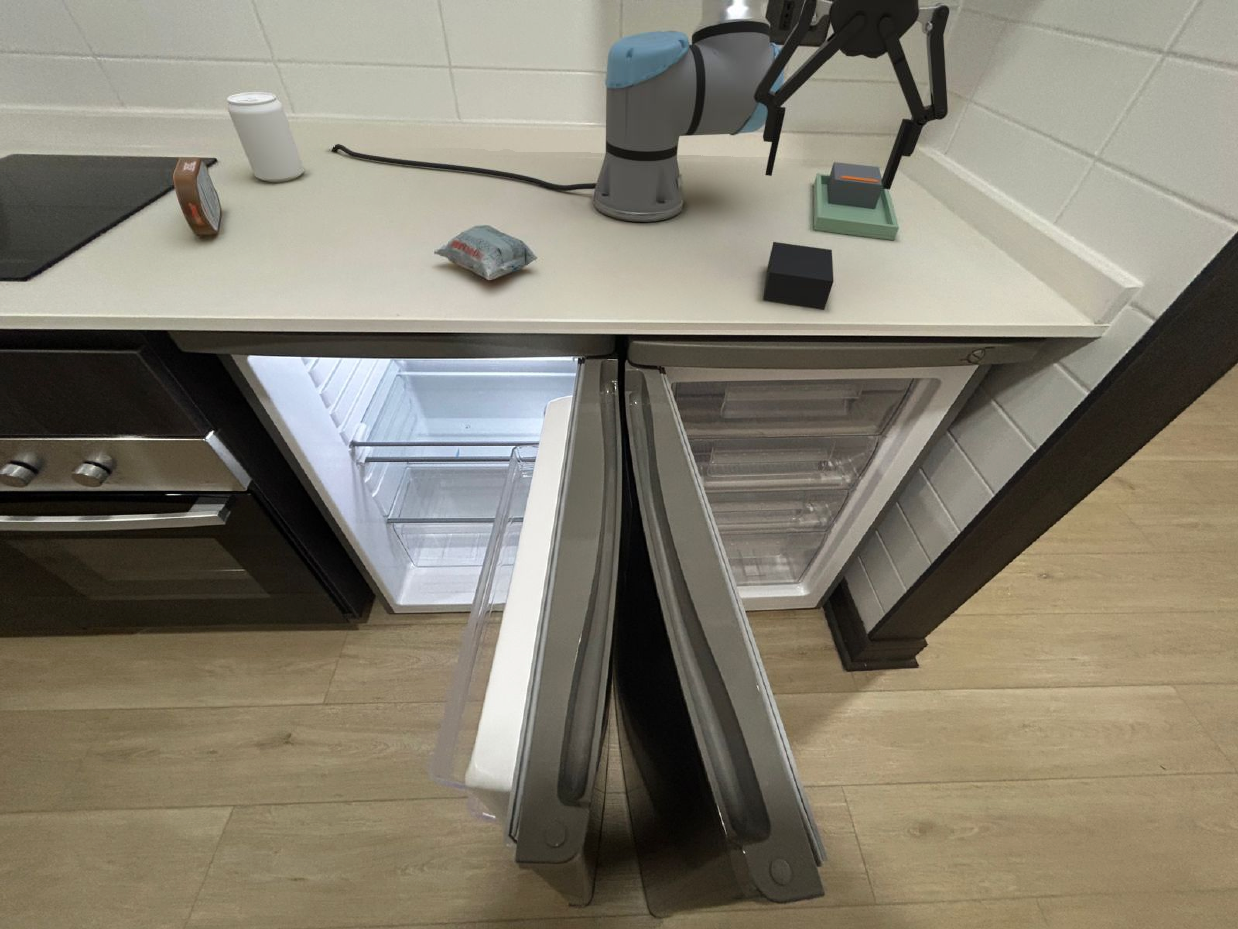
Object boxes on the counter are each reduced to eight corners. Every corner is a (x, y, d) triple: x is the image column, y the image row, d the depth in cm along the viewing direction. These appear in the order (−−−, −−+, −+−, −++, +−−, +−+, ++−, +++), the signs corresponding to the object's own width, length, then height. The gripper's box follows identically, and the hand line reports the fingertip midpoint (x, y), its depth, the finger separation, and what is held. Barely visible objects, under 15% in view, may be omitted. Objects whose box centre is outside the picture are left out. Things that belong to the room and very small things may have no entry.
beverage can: (315, 174, 100) (289, 96, 91) (274, 187, 95) (242, 106, 86) (287, 164, 103) (259, 88, 94) (246, 176, 98) (212, 97, 89)
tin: (205, 207, 88) (177, 149, 82) (227, 204, 89) (201, 147, 83) (197, 246, 79) (164, 183, 73) (222, 243, 80) (191, 181, 74)
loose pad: (762, 300, 73) (769, 272, 71) (766, 268, 80) (773, 241, 77) (824, 309, 72) (833, 281, 69) (823, 276, 79) (832, 249, 76)
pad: (828, 203, 97) (835, 178, 94) (827, 184, 104) (834, 160, 101) (875, 209, 96) (884, 183, 93) (871, 190, 102) (879, 165, 99)
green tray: (893, 240, 88) (899, 227, 87) (813, 229, 90) (817, 216, 89) (882, 193, 103) (886, 181, 102) (813, 184, 105) (816, 172, 103)
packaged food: (491, 295, 72) (486, 258, 68) (435, 265, 77) (428, 229, 74) (539, 273, 77) (537, 238, 73) (484, 247, 82) (480, 212, 78)
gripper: (756, -75, 50) (718, 176, 65) (1054, -60, 46) (941, 202, 61) (761, -76, 55) (725, 157, 70) (1030, -63, 52) (931, 180, 67)
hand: (826, 178), depth 66 cm, fingers open, 13 cm apart
